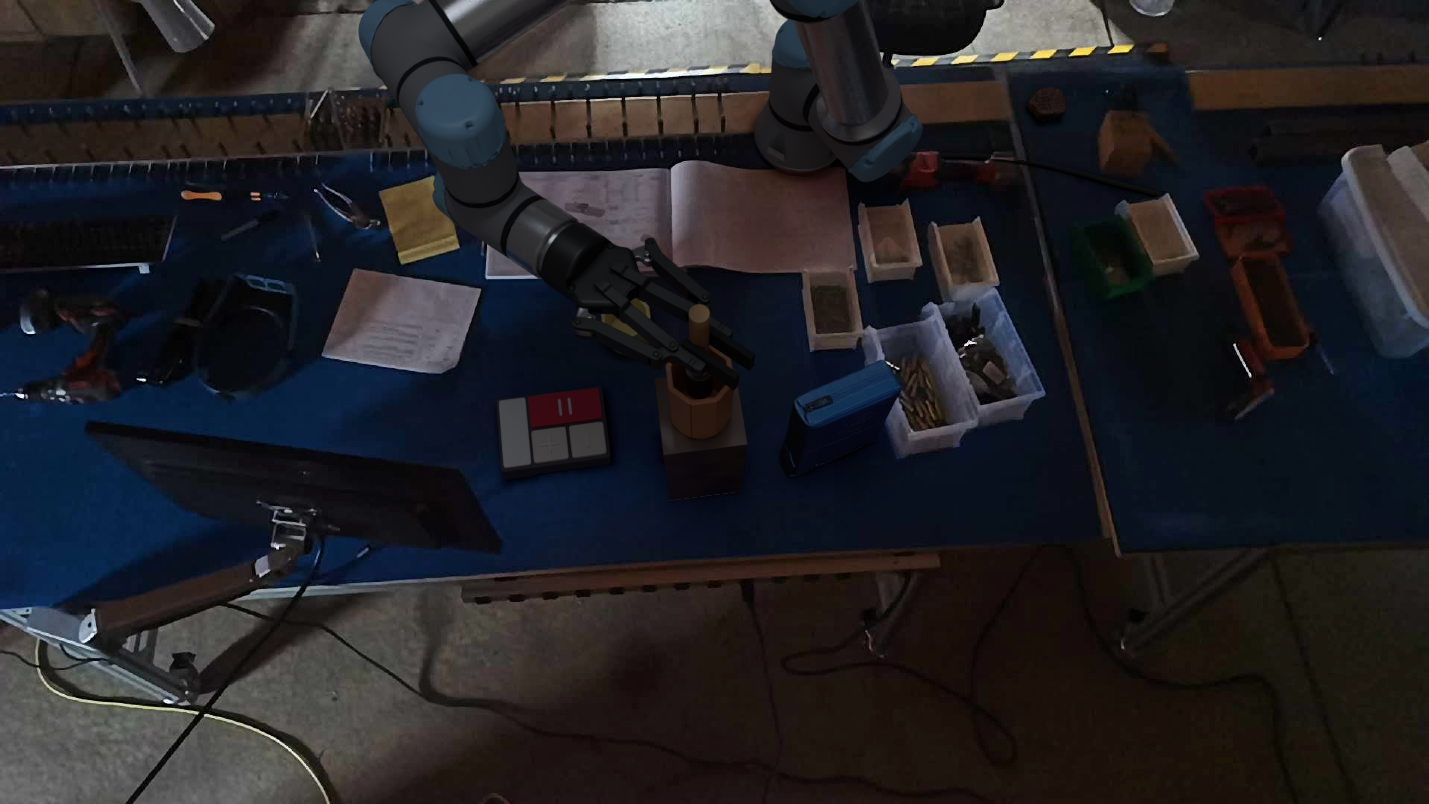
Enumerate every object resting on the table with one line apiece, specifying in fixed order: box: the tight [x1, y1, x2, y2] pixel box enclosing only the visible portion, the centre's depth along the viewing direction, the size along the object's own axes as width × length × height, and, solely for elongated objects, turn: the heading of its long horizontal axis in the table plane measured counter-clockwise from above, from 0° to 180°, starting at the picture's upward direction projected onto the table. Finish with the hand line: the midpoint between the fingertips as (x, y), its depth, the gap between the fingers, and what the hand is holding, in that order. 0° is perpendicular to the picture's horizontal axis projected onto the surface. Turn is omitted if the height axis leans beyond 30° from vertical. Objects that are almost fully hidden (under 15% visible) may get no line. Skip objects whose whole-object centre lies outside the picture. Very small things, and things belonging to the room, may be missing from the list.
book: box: [778, 359, 903, 478], centre depth 112 cm, size 14×5×20 cm, turn 115°
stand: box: [653, 368, 749, 504], centre depth 110 cm, size 10×10×20 cm
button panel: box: [495, 385, 612, 480], centre depth 119 cm, size 11×4×15 cm
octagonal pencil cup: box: [664, 345, 734, 439], centre depth 96 cm, size 7×7×11 cm
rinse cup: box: [600, 298, 652, 356], centre depth 125 cm, size 7×7×6 cm
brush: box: [685, 304, 713, 399], centre depth 87 cm, size 3×3×17 cm
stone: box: [1026, 86, 1067, 122], centre depth 144 cm, size 7×7×3 cm
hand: (744, 372), depth 84 cm, fingers closed on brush, 2 cm apart
